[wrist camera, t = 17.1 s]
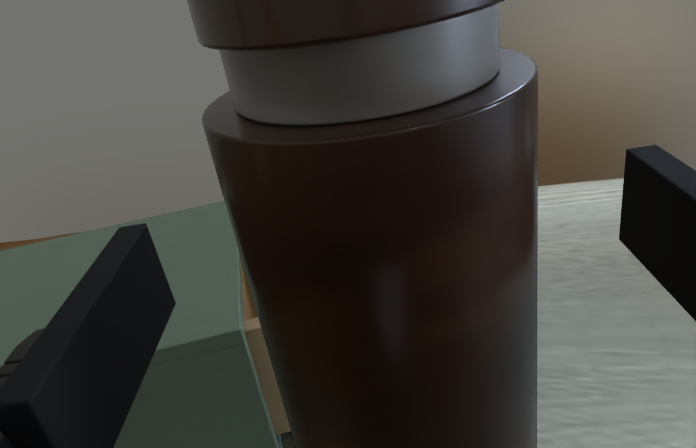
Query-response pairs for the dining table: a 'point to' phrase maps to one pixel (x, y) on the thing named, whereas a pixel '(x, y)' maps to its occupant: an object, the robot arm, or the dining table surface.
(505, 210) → the pepper mill
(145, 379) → the cabinet
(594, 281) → the dining table surface
